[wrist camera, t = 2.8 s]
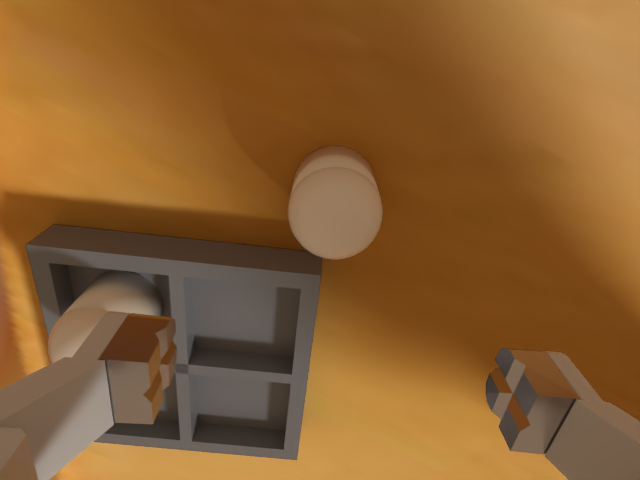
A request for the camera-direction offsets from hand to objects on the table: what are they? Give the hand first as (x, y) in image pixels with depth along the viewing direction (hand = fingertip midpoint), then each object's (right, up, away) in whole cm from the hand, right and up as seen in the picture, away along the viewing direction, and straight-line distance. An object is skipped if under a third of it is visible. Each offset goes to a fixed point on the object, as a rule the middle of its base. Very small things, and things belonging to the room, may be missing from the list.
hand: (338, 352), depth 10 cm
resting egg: (-12, -1, +15) cm, 19 cm away
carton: (-9, -4, +17) cm, 20 cm away
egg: (0, +6, +12) cm, 13 cm away
